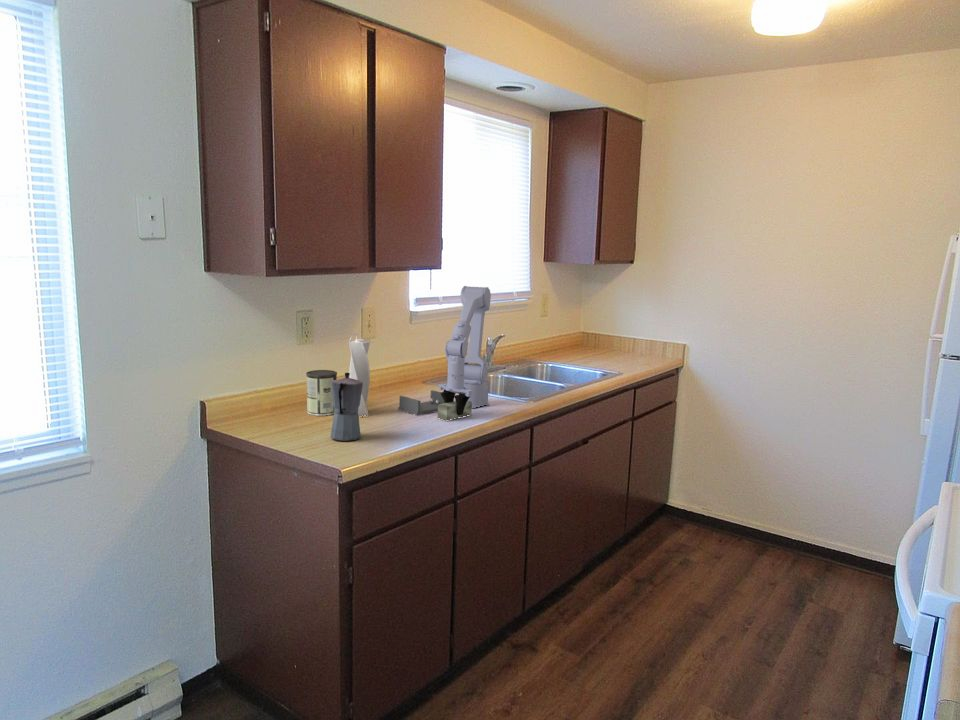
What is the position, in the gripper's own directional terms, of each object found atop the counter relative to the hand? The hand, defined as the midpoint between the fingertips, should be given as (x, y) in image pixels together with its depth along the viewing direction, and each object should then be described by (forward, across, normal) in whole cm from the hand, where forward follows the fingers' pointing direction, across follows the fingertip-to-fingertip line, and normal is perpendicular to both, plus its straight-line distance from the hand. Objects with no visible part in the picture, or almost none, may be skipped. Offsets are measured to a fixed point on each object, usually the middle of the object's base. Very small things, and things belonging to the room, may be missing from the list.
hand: (454, 413), depth 230 cm
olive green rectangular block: (+1, 0, 0) cm, 1 cm away
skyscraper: (+2, -24, -23) cm, 33 cm away
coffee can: (+2, -34, -31) cm, 46 cm away
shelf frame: (+1, -15, 0) cm, 15 cm away
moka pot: (+2, -3, -43) cm, 43 cm away
